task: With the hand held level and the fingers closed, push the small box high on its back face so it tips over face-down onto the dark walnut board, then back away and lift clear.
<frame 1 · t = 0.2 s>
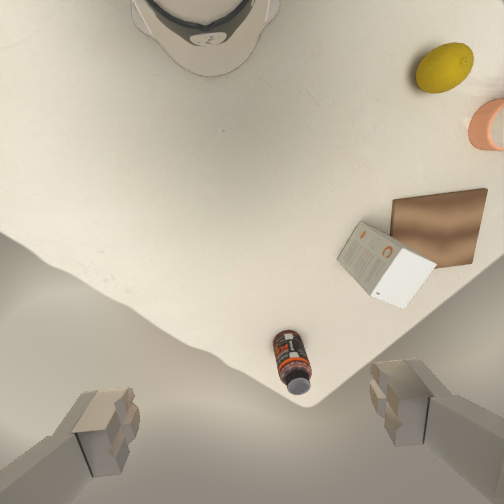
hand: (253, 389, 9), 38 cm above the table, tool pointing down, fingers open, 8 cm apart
pepper shaker: (489, 125, 44), on the table
lemon: (422, 75, 41), on the table
walnut board: (433, 232, 50), on the table
supplement bottle: (286, 340, 58), on the table
small box: (361, 246, 51), on the table
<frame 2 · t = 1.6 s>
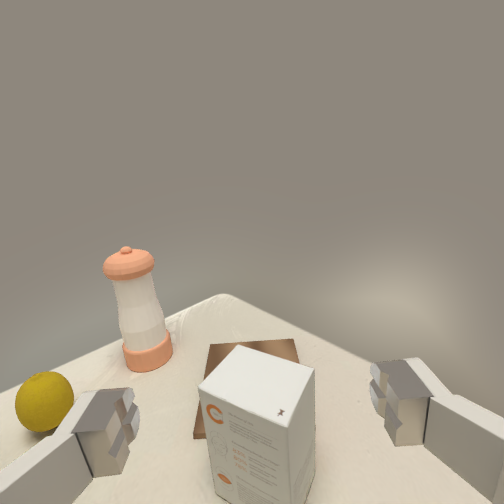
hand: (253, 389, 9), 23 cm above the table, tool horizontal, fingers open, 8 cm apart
pepper shaker: (150, 357, 46), on the table
lemon: (56, 427, 35), on the table
walnut board: (253, 381, 40), on the table
small box: (266, 484, 27), on the table
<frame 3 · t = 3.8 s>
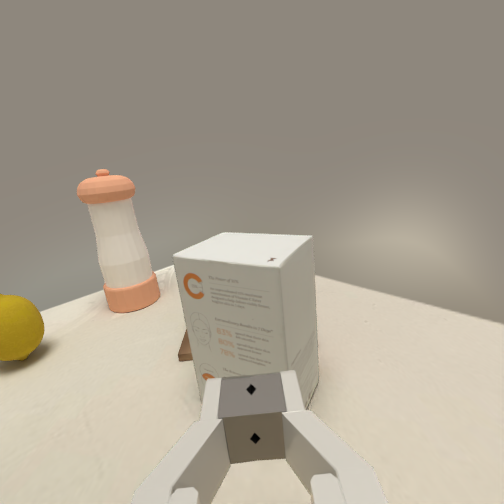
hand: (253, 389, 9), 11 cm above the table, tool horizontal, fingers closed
pepper shaker: (135, 301, 42), on the table
lemon: (24, 360, 31), on the table
small box: (261, 394, 23), on the table
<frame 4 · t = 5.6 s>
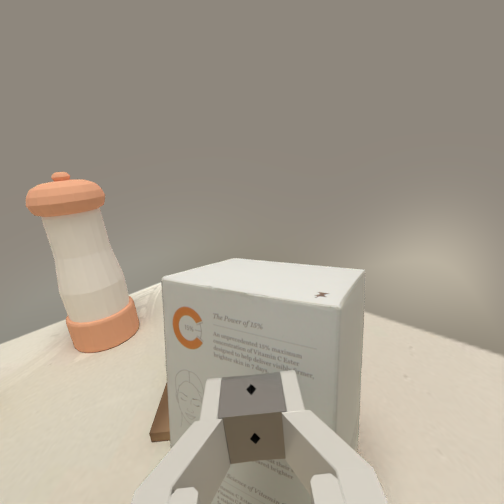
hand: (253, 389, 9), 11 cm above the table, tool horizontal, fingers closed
pepper shaker: (108, 334, 34), on the table
walnut board: (246, 357, 28), on the table
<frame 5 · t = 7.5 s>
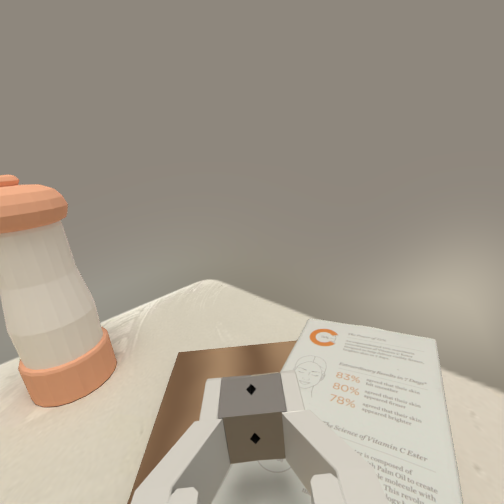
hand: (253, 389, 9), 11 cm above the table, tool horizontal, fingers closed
pepper shaker: (77, 377, 27), on the table
walnut board: (250, 422, 21), on the table
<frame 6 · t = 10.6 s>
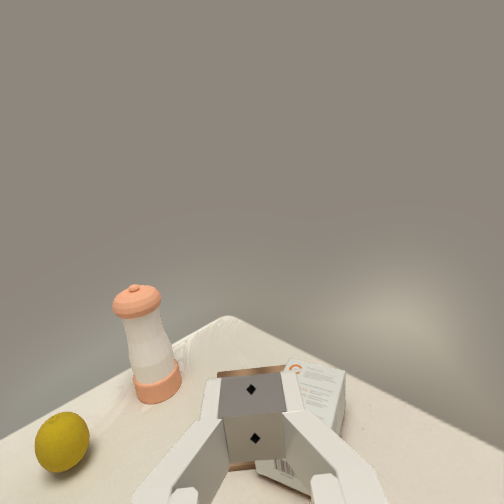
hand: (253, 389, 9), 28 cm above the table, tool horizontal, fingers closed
pepper shaker: (160, 387, 48), on the table
lemon: (73, 465, 36), on the table
walnut board: (260, 410, 41), on the table
small box: (285, 470, 29), point 4 cm above the table, touching walnut board
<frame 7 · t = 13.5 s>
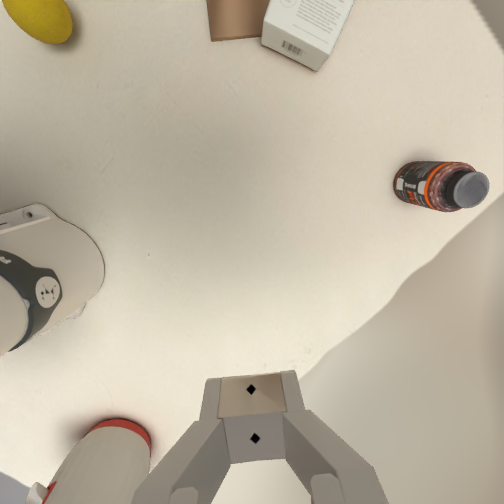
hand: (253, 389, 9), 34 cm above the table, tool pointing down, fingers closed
lemon: (63, 28, 34), on the table
citrus juicer: (117, 436, 55), on the table
supplement bottle: (411, 182, 41), on the table
small box: (291, 51, 32), point 4 cm above the table, touching walnut board
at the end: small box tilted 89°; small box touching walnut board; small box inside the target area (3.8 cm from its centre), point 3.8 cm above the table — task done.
